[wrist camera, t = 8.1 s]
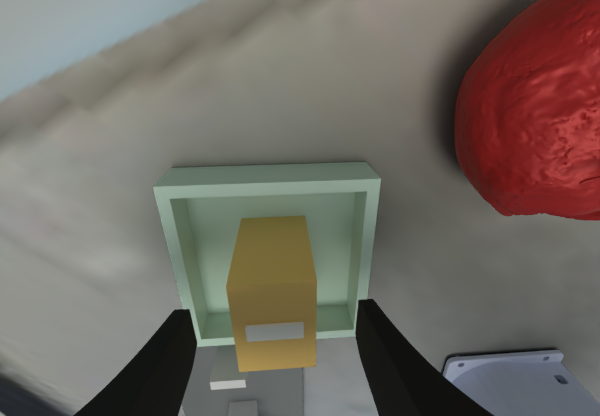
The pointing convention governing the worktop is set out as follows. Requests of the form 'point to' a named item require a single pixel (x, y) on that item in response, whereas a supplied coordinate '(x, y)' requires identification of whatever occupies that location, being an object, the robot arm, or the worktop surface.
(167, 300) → the worktop surface
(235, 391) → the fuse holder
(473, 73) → the pomegranate
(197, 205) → the tray
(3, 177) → the worktop surface
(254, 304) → the block
